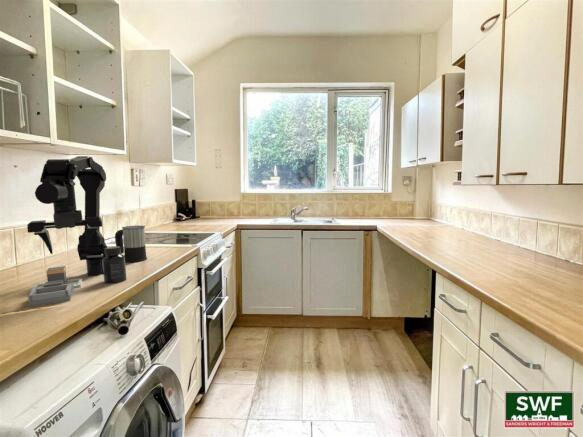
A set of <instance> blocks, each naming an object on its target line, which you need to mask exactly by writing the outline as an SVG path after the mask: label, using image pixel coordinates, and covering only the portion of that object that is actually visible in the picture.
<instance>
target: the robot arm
mask: <svg viewBox="0 0 583 437" xmlns="http://www.w3.org/2000/svg"><path fill="white" fill-rule="evenodd" d="M93 158H94V157H92V156H90V155H86V156H85V155H79V156H75V157H72V158H69V159H68V158H64V159H63V158H61V159H60V158H59V159H57V158H53V159H51V158H50V159H49V158H48V159H47V160H46V161H45V164H44V165H43V169H42V172H41V175H40V180H39V181H40V184H39V185H38V186H37V187H36V188H35V191H34V196H35V198H36V199H37V201H39V202H40V203H42V204H46V205H50V204H53V214H52V216H53V221H51V222H47V221H46V219H44V220H43V219H42V220H41V219H40V220H31V221H30V222H29V223H28V224H27V227H26V228H27V233H30V234H31V233H33V235H34V236H38V237H39V238H41V240H42V241H43V242H44V245H45V247H46V248H47V250H48V251H49V253H50V255H53V253H54V251H53V245H52V241H51V237H50V233H49V229H58V230H59V229H60V230H61V229H65V228H69V229H71V228H75V227H82V226H84V231H83V233H82V234H80V235H79V236H78V244H77V254H78V258H79V261H85V262H86V271H87V272H86V275H85V277H87V278H88V277H94V276H102V275H103V276H104V274H103V264H102V259H103V257H104V256H106V254H105V248H107V247H108V246H107V244H106V242H105V241H106V240H105V238H104V235H102V233H101V232H100V231H101V230H100V227H101V228H102V227H103V218H102V217H101V216H100V214H101V213H100V210H101V209H100V207H101V206H100V199H101V197H100V195H101V194H100V193H101V192H102V190H103V189H104V187H106V186H105V184H106V181H107V172H106V171H105V169H104V167H103V166H102V165H101V164H99V163H97V162H96V161H95V160H94V159H93ZM76 178H77V179H78V181H79V185H80V187H82V189H83V191H84V219H83V212H82V210H81V209H77V200H76V191H75V186H76V182H75V181H74V180H75V179H76Z"/></svg>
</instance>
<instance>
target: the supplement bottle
mask: <svg viewBox="0 0 583 437" xmlns="http://www.w3.org/2000/svg"><path fill="white" fill-rule="evenodd" d="M120 252H121V247H119V246H116V245H115V246H107V248H105V254H106V256H104V257H103V259H102V264H103V282H104V284H107V285H108V284H110V285H111V284H112V285H113V284H118V283H122V282H125V281H127V268H126V267H127V266H126V262H125V257H124V254H123V253H122V254H120Z"/></svg>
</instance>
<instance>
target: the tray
mask: <svg viewBox="0 0 583 437" xmlns="http://www.w3.org/2000/svg"><path fill="white" fill-rule="evenodd" d="M82 283H83V278H82V277H81V278H73V279H72V278H71V279H67V284H71V285H73V284H74V289H76V288H81V286H82ZM44 284H45V282H44V283H43V282H42V283H35V284H34V286H33V287H32V288H31V290H30V291H29V294H30V293H31V291H32V290H33V289H35V288H42V287H43V285H44Z"/></svg>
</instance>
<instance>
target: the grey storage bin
mask: <svg viewBox="0 0 583 437" xmlns="http://www.w3.org/2000/svg"><path fill="white" fill-rule="evenodd" d="M44 283H45V284H44V285H43V287H42V288H35V289H33V290H32V289H31V290H32V291H31V290H30V291H31V293H30V292H29V294H28V296H27V298H28V299H27V300H28V301H27V307H28V308H31V307H32V308H33V307H36V306H37V307H38V306H43V305H44V306H45V305H50V304H55V303H63V302H69V301H71V299H72V296H73V293H74V290H75V288H74V284H73V285H71V284H64V282H63V280H56V281H45V282H44Z"/></svg>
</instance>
